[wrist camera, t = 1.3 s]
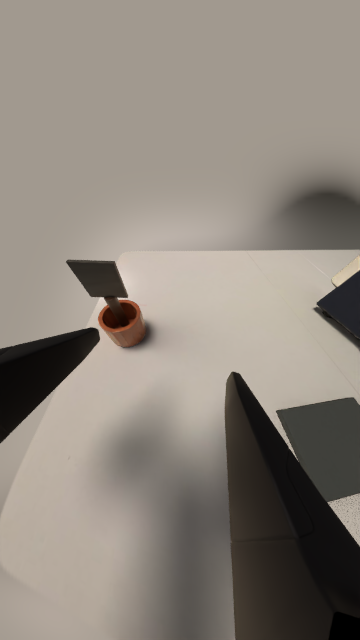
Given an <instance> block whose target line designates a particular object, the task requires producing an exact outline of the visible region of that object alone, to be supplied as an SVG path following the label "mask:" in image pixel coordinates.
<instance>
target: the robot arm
mask: <svg viewBox="0 0 360 640" xmlns="http://www.w3.org/2000/svg"><path fill="white" fill-rule="evenodd" d="M99 340H100V337H99V331H98V329H96V328H87V329H82V330H78V331H74V332H70V333H66V334H61V335H57V336H53V337H49V338H44V339H40V340H36V341H32V342H28V343H23V344H19V345H15V346H11V347H6V348H2V349H0V443H1V442H2V441H3V440H4V439H5V438H6V437H7V436H8V435H9V434H10V433H11V432H12V431H13V430H14V429H15V428H16V427H17V426H18V425H19V424H20V423H21V422H22V421H23V420H24V419H25V418H26V417H27V416H28V415H29V414H30V413H31V412H32V411H33V410H34V409H35V408H36V407H37V406H38V405H39V404H40V403H41V402H42V401H43V400H44V399H45V398H46V397H47V396H48V395H49V394H50V393H51V392H52V391H53V390H54V389H55V388H56V387H57V386H58V385H59V384H60V383H61V382H62V381H63V380H64V379H65V378H66V377H67V376H68V375H69V374H70V373H71V372H72V371H73V370H74V369H75V368H76V367H77V366H78V365H79V364H80V363H81V362H82V361H83V360H84V359H85V358H86V357H87V355H88V354H89V353H90V352H91V351H92V349H93V348H94V347H95V346H96V345H97V343H98V342H99ZM225 430H226V450H227V471H228V492H229V513H230V534H231V557H232V578H233V599H234V620H235V640H360V546H359V545H358V544H357V542H356V541H355V540H354V538H353V537H352V535H351V534H350V533H349V531H348V530H347V529H346V527H345V526H344V525H343V523H342V522H341V521H340V519H339V518H338V517H337V515H336V514H335V512H334V511H333V510H332V508H331V507H330V506H329V504H328V503H327V502H326V500H325V499H324V497H323V496H322V495H321V493H320V492H319V490H318V489H317V488H316V486H315V485H314V484H313V482H312V481H311V479H310V478H309V476H308V475H307V473H306V472H305V471H304V469H303V468H302V466H301V465H300V463H299V462H298V460H297V459H296V457H295V456H294V454H293V453H292V451H291V450H290V449H289V447H288V445H287V444H286V442H285V441H284V439H283V438H282V436H281V435H280V433H279V432H278V430H277V429H276V427H275V426H274V424H273V423H272V421H271V420H270V418H269V417H268V415H267V414H266V412H265V411H264V409H263V408H262V406H261V405H260V403H259V402H258V400H257V399H256V397H255V396H254V394H253V393H252V391H251V390H250V388H249V387H248V385H247V384H246V382H245V381H244V379H243V378H242V376H241V375H240V374H239V373H236V372H231V374H230V376H229V378H228V379H227V382H226V396H225Z"/></svg>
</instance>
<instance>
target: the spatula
mask: <svg viewBox="0 0 360 640" xmlns="http://www.w3.org/2000/svg"><path fill="white" fill-rule="evenodd" d="M66 263H67V264H68V265H69V267H70V268H71V270H72V271H73V272H74V274H75V275H76V277H77V278H78V279H79V281H80V282H81V284H82V285H83V286H84V288H85V289H86V291H87V292H88V293H89V295H90V296H91V297H104V299H105V301H106V303H107V304H108V306H109V307H110V309H111V311H112V312H113V314H114V316H115V317H116V319H117V320H118V322H119V324H120V325H121V327H122V328H123V327H126V326H128V325H129V324H130V323H129V321H128V319H127V317H126V315H125V313H124V311H123V309H122V307H121V305H120V303H119V301H118V299H117V297H118V298H128V294H127V292H126V289H125V287H124V284H123V281H122V279H121V276H120V274H119V271H118V269H117V266H116V264H115V261H90V260H67V261H66Z"/></svg>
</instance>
